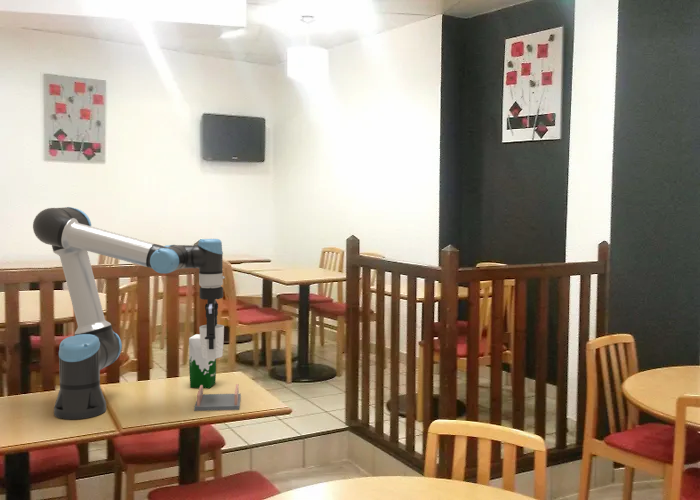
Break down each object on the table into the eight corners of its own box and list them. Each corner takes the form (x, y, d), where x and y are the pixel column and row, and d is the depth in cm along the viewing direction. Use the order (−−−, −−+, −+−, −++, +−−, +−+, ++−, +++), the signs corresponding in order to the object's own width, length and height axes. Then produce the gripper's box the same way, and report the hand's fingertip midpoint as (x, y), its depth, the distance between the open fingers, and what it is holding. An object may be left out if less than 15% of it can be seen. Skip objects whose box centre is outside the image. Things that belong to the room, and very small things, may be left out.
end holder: (194, 410, 215) (194, 396, 215) (198, 397, 229) (198, 384, 229) (239, 409, 217) (239, 395, 217) (240, 397, 231) (240, 383, 230)
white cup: (221, 359, 218) (221, 328, 218) (197, 359, 218) (196, 328, 218) (226, 354, 226) (226, 324, 225) (203, 354, 226) (202, 324, 226)
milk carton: (211, 389, 240) (211, 333, 238) (186, 388, 240) (186, 332, 239) (218, 382, 248) (218, 328, 247) (194, 381, 249) (194, 327, 248)
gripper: (221, 290, 211) (222, 362, 213) (224, 282, 231) (226, 348, 233) (196, 290, 210) (198, 363, 212) (202, 282, 230) (203, 349, 232)
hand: (212, 355), depth 222 cm, fingers closed on white cup, 7 cm apart
